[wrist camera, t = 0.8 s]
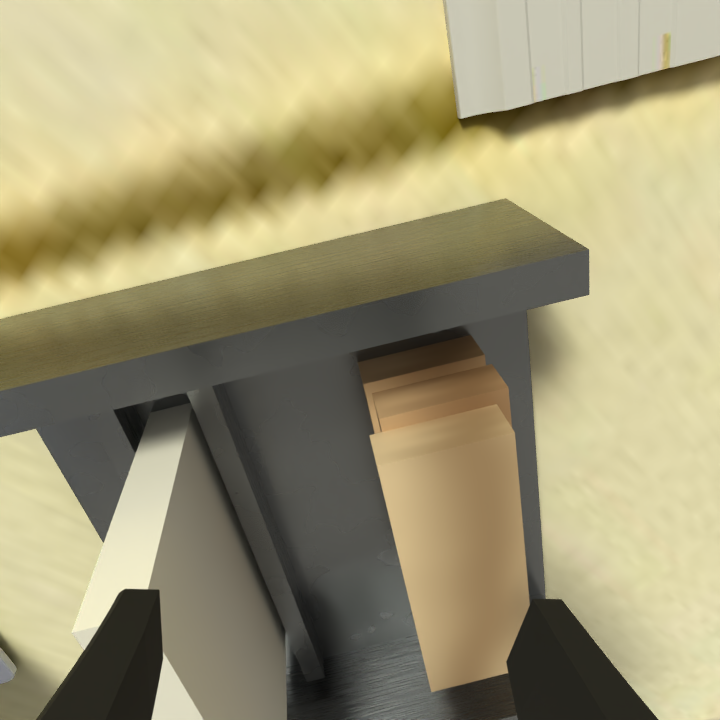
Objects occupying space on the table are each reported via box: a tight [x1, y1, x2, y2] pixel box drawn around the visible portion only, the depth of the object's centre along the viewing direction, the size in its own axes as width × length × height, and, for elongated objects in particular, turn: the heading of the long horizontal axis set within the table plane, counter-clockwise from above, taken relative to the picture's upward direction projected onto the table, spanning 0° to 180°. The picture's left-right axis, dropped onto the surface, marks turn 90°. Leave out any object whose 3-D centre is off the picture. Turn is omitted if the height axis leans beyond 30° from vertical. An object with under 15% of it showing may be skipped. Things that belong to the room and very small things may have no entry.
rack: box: [0, 199, 589, 720], centre depth 21 cm, size 17×20×6 cm
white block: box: [72, 403, 287, 720], centre depth 19 cm, size 2×12×8 cm, turn 12°
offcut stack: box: [358, 335, 530, 692], centre depth 21 cm, size 4×12×4 cm, turn 12°
